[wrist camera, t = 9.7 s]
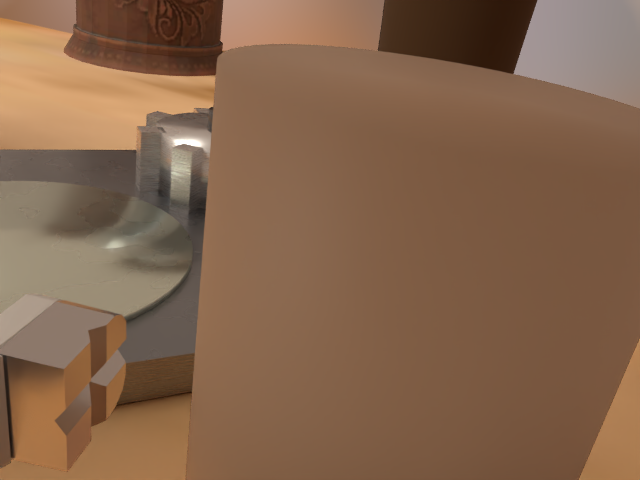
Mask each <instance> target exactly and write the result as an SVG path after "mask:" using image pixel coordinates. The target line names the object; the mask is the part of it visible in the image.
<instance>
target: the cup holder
mask: <svg viewBox="0 0 640 480" xmlns="http://www.w3.org/2000/svg"><path fill="white" fill-rule="evenodd" d="M222 9H223V0H76V21H77V24H74V27H73V29H74V30H73V31H74V34H73V35H72V37H71V38H70V40H69V42H68V43H67V45H66V46H65V48H64V53H66V54H67V55H68V56H69V57H72V58H74V59H77V60H79V61H82V62H86V63H90V64H93V65H97V66H101V67H107V68H112V69H117V70H123V71H130V72H138V73H145V74H157V75H170V76H207V75H215V74H216V67H217V58H218V56H219V55H220V54H222V53H223V52H222V45H223V43H222V42H221V41H220V35H221V22H222Z"/></svg>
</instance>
